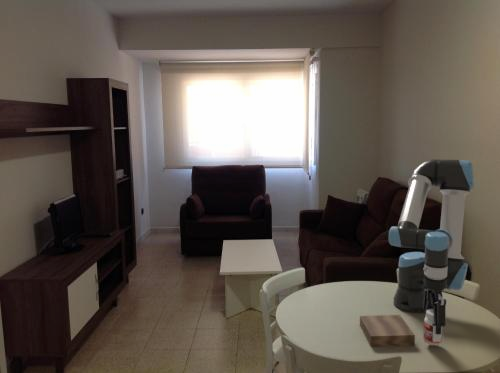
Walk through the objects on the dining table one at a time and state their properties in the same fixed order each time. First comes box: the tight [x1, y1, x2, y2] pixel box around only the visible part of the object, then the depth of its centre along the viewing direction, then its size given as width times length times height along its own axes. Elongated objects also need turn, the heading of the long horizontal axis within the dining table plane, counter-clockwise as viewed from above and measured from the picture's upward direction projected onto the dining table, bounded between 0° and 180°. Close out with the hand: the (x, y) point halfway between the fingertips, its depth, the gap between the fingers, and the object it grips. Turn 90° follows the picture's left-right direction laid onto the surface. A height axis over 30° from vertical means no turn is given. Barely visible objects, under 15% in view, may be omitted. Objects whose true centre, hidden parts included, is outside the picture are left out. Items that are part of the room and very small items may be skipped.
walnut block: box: [359, 314, 416, 347], centre depth 168 cm, size 16×16×4 cm
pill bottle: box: [422, 309, 443, 346], centre depth 159 cm, size 6×6×11 cm
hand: (432, 336), depth 159 cm, fingers closed on pill bottle, 6 cm apart
